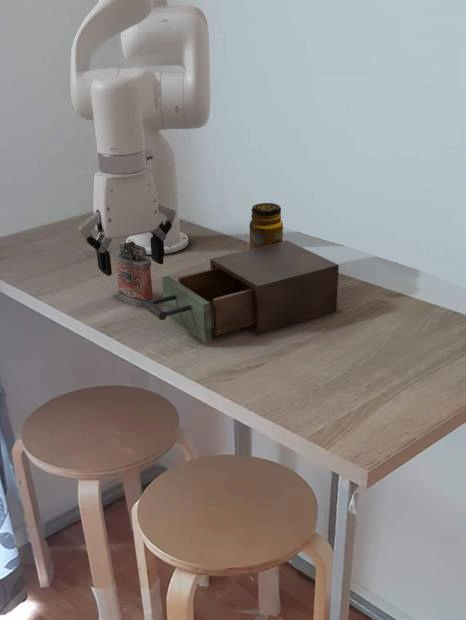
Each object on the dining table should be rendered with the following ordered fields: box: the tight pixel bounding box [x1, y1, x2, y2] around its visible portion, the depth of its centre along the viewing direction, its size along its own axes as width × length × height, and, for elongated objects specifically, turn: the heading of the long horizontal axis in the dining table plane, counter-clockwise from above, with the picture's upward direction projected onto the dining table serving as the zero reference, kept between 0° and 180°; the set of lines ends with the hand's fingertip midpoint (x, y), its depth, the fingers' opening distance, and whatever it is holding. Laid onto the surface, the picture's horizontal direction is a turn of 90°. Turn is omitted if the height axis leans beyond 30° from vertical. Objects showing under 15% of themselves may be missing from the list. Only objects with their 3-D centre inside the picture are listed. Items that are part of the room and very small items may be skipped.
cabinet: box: [209, 240, 340, 335], centre depth 137 cm, size 16×15×8 cm
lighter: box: [113, 241, 155, 307], centre depth 141 cm, size 8×3×10 cm, turn 47°
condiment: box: [249, 202, 284, 250], centre depth 149 cm, size 7×8×12 cm
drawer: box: [141, 267, 256, 343], centre depth 132 cm, size 20×13×6 cm, turn 122°
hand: (132, 267), depth 140 cm, fingers open, 9 cm apart
